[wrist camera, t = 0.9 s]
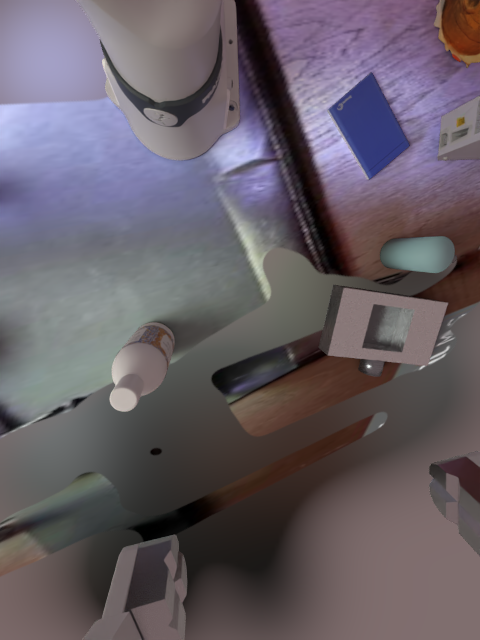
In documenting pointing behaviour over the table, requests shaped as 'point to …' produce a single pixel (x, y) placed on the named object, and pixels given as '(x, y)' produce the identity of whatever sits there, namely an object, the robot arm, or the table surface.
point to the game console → (461, 133)
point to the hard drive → (368, 126)
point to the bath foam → (141, 365)
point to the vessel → (460, 28)
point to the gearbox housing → (380, 327)
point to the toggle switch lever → (418, 254)
